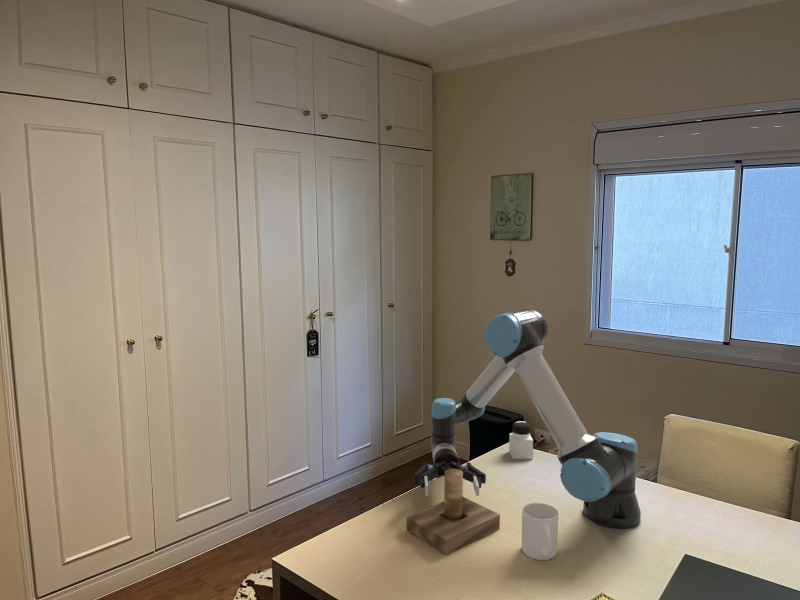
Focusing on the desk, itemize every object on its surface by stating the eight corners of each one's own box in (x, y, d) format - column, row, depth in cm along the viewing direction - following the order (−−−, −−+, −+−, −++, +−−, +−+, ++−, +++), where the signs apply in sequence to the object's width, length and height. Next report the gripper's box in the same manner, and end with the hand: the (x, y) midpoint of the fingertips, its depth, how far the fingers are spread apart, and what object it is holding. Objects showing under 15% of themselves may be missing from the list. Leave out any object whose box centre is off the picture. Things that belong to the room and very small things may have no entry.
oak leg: (466, 530, 155) (466, 472, 153) (453, 536, 152) (453, 477, 150) (453, 523, 159) (453, 467, 157) (440, 529, 156) (440, 471, 154)
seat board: (499, 528, 156) (499, 514, 155) (445, 555, 143) (445, 539, 143) (459, 508, 167) (459, 495, 167) (406, 530, 155) (406, 516, 154)
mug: (530, 570, 137) (532, 527, 136) (517, 543, 149) (518, 503, 147) (566, 569, 137) (568, 526, 136) (550, 542, 149) (551, 502, 148)
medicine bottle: (532, 459, 203) (533, 426, 201) (512, 459, 203) (513, 426, 201) (528, 451, 210) (529, 419, 208) (508, 451, 210) (509, 419, 209)
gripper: (486, 471, 177) (498, 504, 156) (404, 471, 177) (405, 504, 156) (487, 447, 176) (499, 477, 155) (404, 448, 176) (405, 477, 155)
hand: (452, 491), depth 155 cm, fingers open, 13 cm apart
